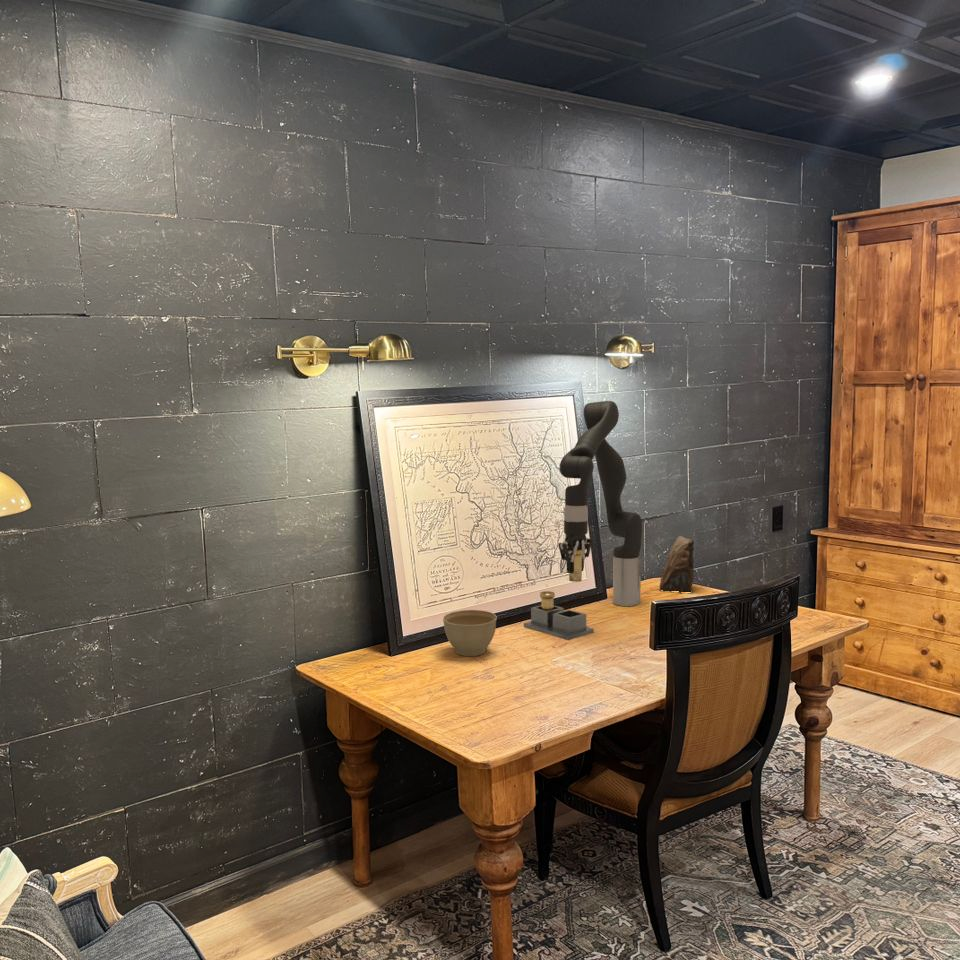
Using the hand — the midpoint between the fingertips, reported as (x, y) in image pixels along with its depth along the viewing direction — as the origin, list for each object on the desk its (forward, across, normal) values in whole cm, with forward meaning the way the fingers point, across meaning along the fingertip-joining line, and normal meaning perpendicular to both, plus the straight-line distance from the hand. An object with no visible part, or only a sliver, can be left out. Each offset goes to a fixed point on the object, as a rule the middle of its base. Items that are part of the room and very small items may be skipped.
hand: (575, 571), depth 290 cm
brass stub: (+3, 0, 0) cm, 3 cm away
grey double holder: (+20, +1, -6) cm, 21 cm away
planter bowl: (+21, +37, -9) cm, 43 cm away
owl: (+19, -69, -11) cm, 72 cm away
